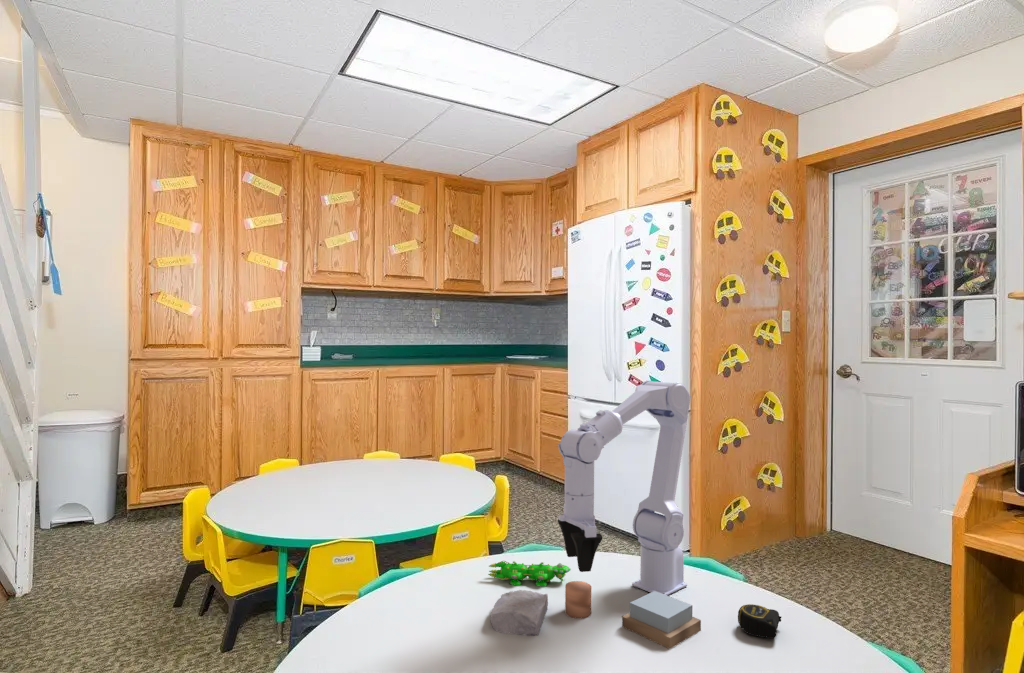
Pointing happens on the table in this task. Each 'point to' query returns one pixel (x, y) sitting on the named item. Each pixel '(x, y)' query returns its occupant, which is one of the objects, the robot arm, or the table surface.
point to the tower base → (659, 635)
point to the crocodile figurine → (528, 572)
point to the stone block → (519, 612)
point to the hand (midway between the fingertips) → (578, 563)
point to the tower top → (661, 611)
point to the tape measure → (759, 620)
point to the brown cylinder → (578, 599)
